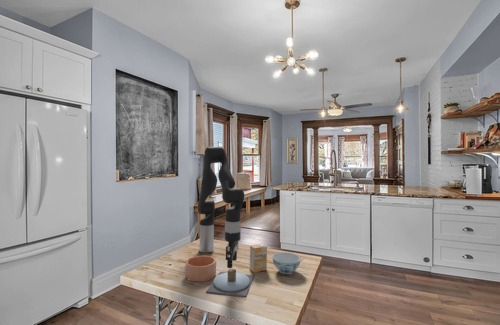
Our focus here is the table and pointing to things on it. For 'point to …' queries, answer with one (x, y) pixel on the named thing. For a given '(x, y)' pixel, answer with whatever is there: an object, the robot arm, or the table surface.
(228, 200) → the robot arm
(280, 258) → the chinaware
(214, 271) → the bowl
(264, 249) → the supplement box
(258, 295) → the table surface
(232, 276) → the lid
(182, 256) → the table surface
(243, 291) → the mat
